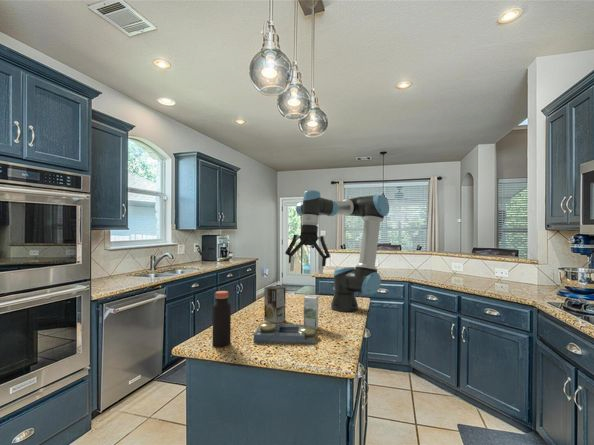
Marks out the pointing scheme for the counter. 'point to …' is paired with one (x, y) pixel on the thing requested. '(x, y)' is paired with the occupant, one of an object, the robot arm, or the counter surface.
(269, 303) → the coffee box
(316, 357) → the counter surface
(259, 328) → the knobbed grey frame
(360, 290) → the robot arm
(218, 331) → the bottle
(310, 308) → the syrup box
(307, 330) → the grey base plate
